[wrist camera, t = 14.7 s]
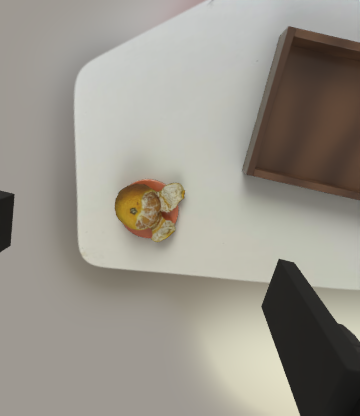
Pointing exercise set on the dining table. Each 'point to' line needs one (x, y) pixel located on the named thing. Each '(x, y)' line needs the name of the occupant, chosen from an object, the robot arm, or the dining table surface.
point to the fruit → (148, 208)
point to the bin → (310, 115)
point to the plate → (166, 215)
